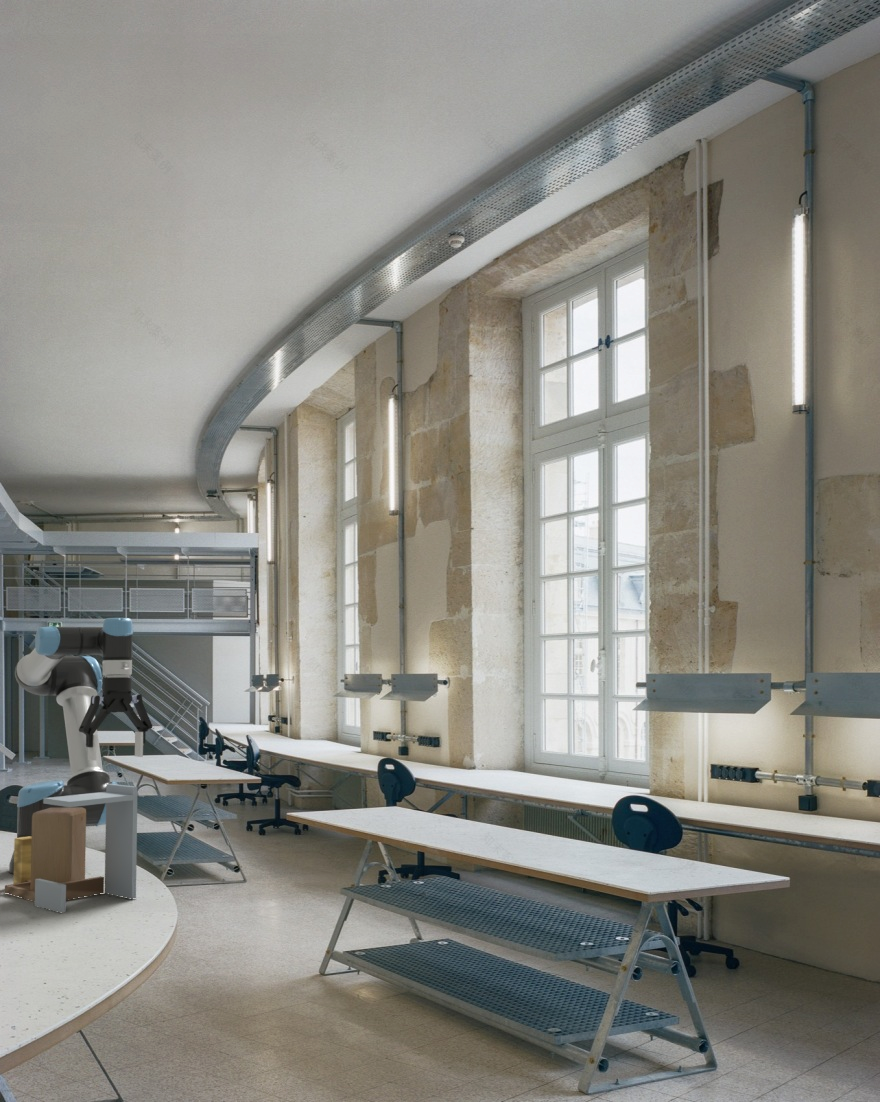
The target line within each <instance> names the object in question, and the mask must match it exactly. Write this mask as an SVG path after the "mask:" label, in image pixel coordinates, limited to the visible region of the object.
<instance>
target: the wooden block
mask: <svg viewBox="0 0 880 1102" xmlns="http://www.w3.org/2000/svg"><path fill="white" fill-rule="evenodd" d="M86 838H87V826H86V809H85V808H82V807H70V808H48V809H44V810H41V811H37V812H35V813H33V815H32V840H31V883H30V890H32V891H35V879H44V880H48V881H52V882H56V883H64V882H70V881H76V880H82V879H86V850H87V849H86V845H87V844H86V843H87V842H86V841H87V839H86Z"/></svg>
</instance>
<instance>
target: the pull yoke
mask: <svg viewBox="0 0 880 1102" xmlns="http://www.w3.org/2000/svg"><path fill="white" fill-rule="evenodd" d="M31 840H32V837H30V836H28V837H21V838H17V837H14V843H13V844H14V847H13V849H14V850H13V852H14V874H13V883H12V884H6V885H4V894H5V893H9V894H12V895H15V896H19V897H22V898H25V899H24V900H26V899H29V900H28V901H30V900H32V901H31V902H34V901H35V891H32V890H30V883H31ZM60 884H65V885H66V900H68V899H73V898H78V897H84V896H90V895H94V894H100V893H104V894H105V876H96V877H88V878H85V879H82V880H76V881H70V882H64V883H60ZM90 897H91V896H90ZM22 898H21V899H22ZM68 901H69V900H68Z"/></svg>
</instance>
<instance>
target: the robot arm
mask: <svg viewBox="0 0 880 1102" xmlns="http://www.w3.org/2000/svg"><path fill="white" fill-rule="evenodd" d="M102 623H103V625H102V626H53V625H50V626H42V627H41V626H40V627H39V628H37V630H36V634H35V638H34V646H35V647H34V648H33V649H32V651H31V652H30V653H28V654H26V655H24V656H23V657H21V659H19V661H17V663H16V665H15V667H14V677H15V679H16V683H18V685H19V686H20V687H21V688H22V689H23V690H25V691H26V692H28V693H31V694H32V695H37V696H42V697H43V696H44V697H45V696H49V697H50V696H54V697H55V699H56V702H57V704H58V705H59V706H61V707H62V709H63V718H64V724H65V725H64V727H65V733H66V742H67V749H68V751H67V752H68V758H69V766H70V773H71V776H70V778H69V779H67V782H66V784H64V781H63V780H61V779H60V780H59V779H57V780H56V779H55V780H47V781H42V782H41V781H40V782H36V783H32V784H29V785H25V786H23V787H22V788H20V790H19V791H18V796H17V804H16V807H17V814H16V815H17V819H16V821H17V823H16V825H17V826H16V827H17V828H16V830H17V831H16V838H21V837H28V836H30V837H32V815H33V813H35V812H37V811H41V810H44V809H48V808H70V807H64V806H58V805H51V804H44V803H43V798H50V797H60V796H69V795H79V794H89V793H98V792H106V784H117V785H119V784H118V783H117V782H116V781H111V778H110V775H109V773H108V772H107V771H105V770H104V769H103V762H102V756H101V748H100V741H99V734H98V728H99V727H100V726H101V725H102V723H103V722H104V720H105V719H106V718H107V716H108V715H110V714H111V713H124V714H125V715H126V716H127V717H128V720H129V721H130V722H131V723H132V724H133V726H134V727H135V728H136V730H137V731H135V732H134V757H135V758H136V757H137V758H141V757H142V758H143V757H144V744H145V743H146V732H148V731H149V730H150V729H152V728H153V724H152V721H151V719H150V716H149V713H148V712H147V710H146V707H145V705H144V702H143V701H144V700H143V696H142V694H139V693H137V694H132V690H133V678H132V677H131V675H132V674H133V638H134V637H133V635H134V629H133V628H134V626H133V620H132V619H131V618H127V617H108V618H105V619H103V622H102ZM91 655H92V656H102V668H101V666H100V664H99V662H98V661H97V659H96V658H95V657H92V656H91ZM103 676H104V677H103ZM102 677H103V678H102ZM101 691H102V695H101V696H100V695H98V694H100V692H101ZM101 703H102V707H100V710H99V712H98V709H99V706H100V705H101ZM131 703H133V705H134V707H135V710H136V712H137V713H136V712H135V710H134V708H133V706H132V705H131ZM97 712H98V713H97ZM96 714H97V715H96ZM76 807H82V808H85V809H86V827H99V826H103V825H105V826H106V803H103V804H94V805H85V806H76ZM8 872H9V873H10V874H12V873H13V875H14V851H13V853H12V855H11V858H10V861H9V865H8Z"/></svg>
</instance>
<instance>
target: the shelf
mask: <svg viewBox="0 0 880 1102" xmlns="http://www.w3.org/2000/svg"><path fill="white" fill-rule="evenodd" d="M117 784H118V783H117ZM117 784H106V792H98V793H89V794H79V795H69V796H60V797H50V798H43V803H44V804H51V805H58V806H64V807H76V806H85V805H94V804H103V803H106V824H105V846H104V847H105V848H104V849H105V850H104V851H105V853H104V857H105V858H104V894H105V893H109V894H113V895H118V896H123V897H127V898H131V899H133V898H136V899H137V859H138V857H137V856H138V854H137V853H138V852H137V851H138V850H137V848H138V847H137V846H138V845H137V843H138V786H133V785H124V784H118V785H117ZM109 894H108V895H109ZM113 895H112V896H113ZM66 905H67V901H66V885H65V884H60V883H56V882H52V881H48V880H44V879H35V902H34V907H36V906H38V907H37V908H40V907H42V908H41V909H44V908H46V909H45V910H47V909H50V910H49V911H51V910H53V911H52V912H54V911H58V912H65V911H66V909H67V908H66V907H67V906H66ZM58 912H57V913H58ZM66 912H67V911H66ZM66 912H65V913H66Z"/></svg>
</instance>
